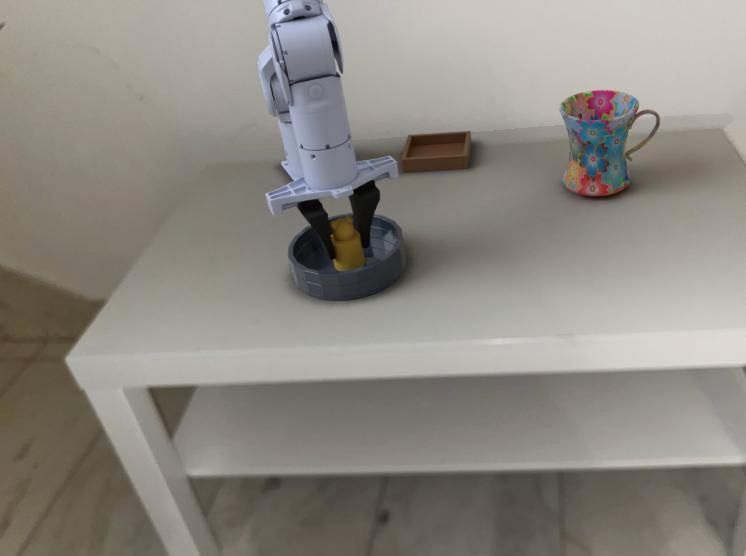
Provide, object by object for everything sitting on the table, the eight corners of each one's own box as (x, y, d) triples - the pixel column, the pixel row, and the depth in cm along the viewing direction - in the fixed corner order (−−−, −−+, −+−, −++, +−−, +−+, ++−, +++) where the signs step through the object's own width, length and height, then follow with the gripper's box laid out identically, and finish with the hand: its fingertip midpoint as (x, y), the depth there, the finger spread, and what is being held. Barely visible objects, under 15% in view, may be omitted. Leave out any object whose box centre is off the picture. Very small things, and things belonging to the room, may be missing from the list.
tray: (402, 172, 107) (400, 159, 106) (409, 146, 114) (408, 134, 113) (468, 168, 106) (467, 155, 105) (471, 142, 112) (470, 130, 111)
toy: (330, 261, 90) (320, 216, 86) (358, 252, 91) (350, 207, 87) (340, 275, 87) (331, 230, 84) (369, 266, 88) (361, 220, 85)
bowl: (281, 259, 93) (274, 234, 91) (381, 226, 96) (376, 201, 94) (315, 314, 83) (308, 288, 81) (425, 275, 86) (421, 249, 84)
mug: (564, 206, 95) (564, 124, 88) (555, 172, 102) (554, 94, 95) (663, 196, 94) (671, 113, 87) (647, 163, 101) (653, 83, 94)
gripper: (267, 172, 75) (297, 286, 83) (402, 132, 79) (418, 245, 87) (249, 148, 80) (279, 257, 88) (377, 111, 84) (394, 220, 92)
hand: (346, 250), depth 88 cm, fingers closed on toy, 3 cm apart
